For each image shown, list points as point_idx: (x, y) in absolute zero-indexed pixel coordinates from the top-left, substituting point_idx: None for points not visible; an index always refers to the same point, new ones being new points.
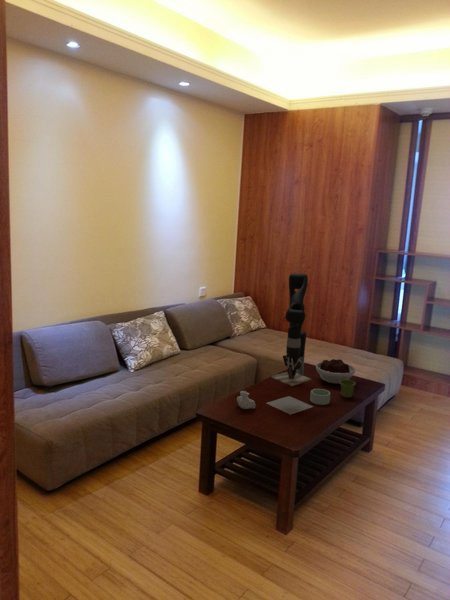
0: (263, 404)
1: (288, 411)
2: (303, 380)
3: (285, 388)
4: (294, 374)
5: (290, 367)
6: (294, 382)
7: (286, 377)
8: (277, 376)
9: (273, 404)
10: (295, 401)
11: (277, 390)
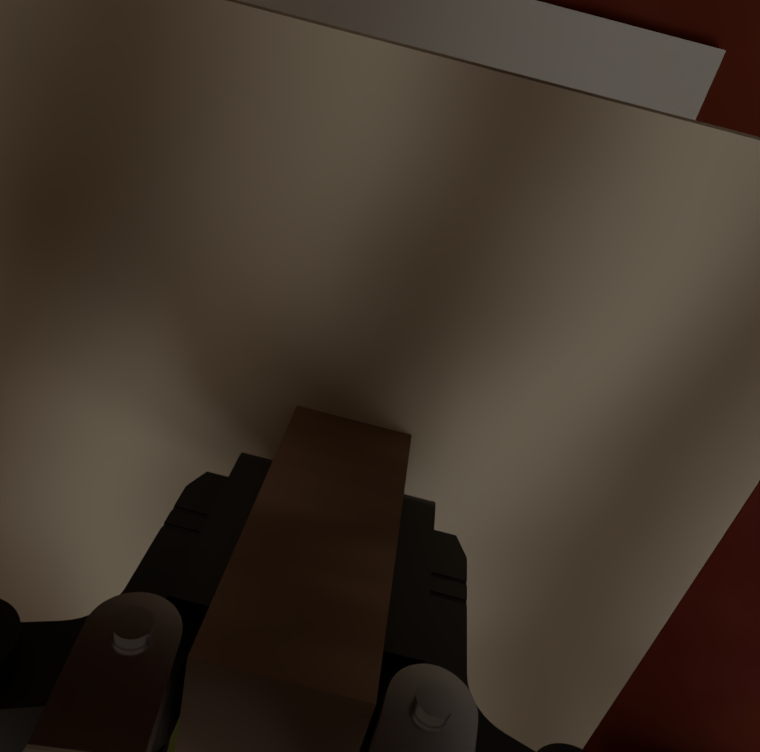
0: (748, 7)
1: (290, 7)
2: (23, 464)
3: (676, 620)
4: (181, 501)
5: (302, 698)
6: (41, 187)
7: (445, 397)
8: (717, 306)
9: (594, 86)
10: None
11: (740, 538)
